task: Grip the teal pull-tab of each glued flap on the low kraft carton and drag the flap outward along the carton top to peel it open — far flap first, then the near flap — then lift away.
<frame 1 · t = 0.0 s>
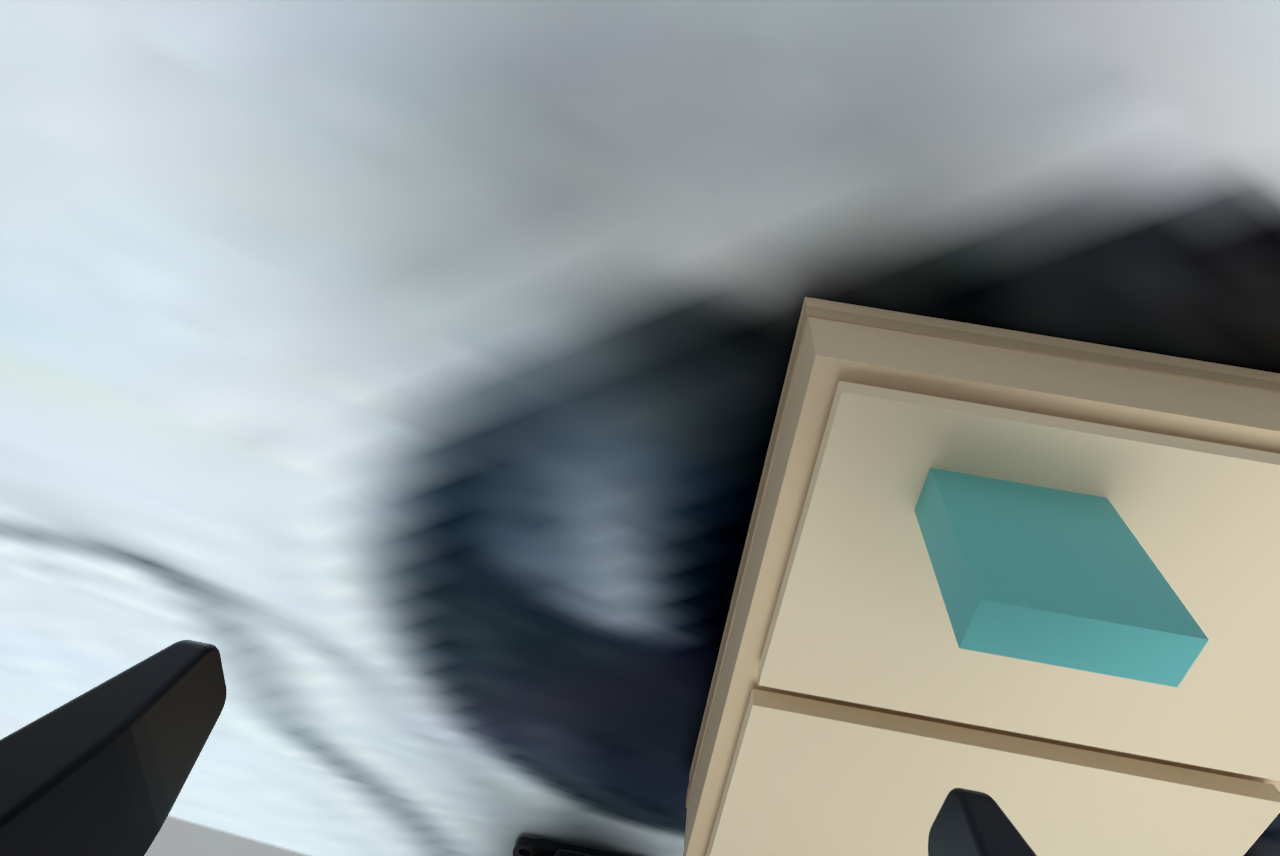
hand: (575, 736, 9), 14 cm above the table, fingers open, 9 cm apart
carton: (976, 621, 26), on the table
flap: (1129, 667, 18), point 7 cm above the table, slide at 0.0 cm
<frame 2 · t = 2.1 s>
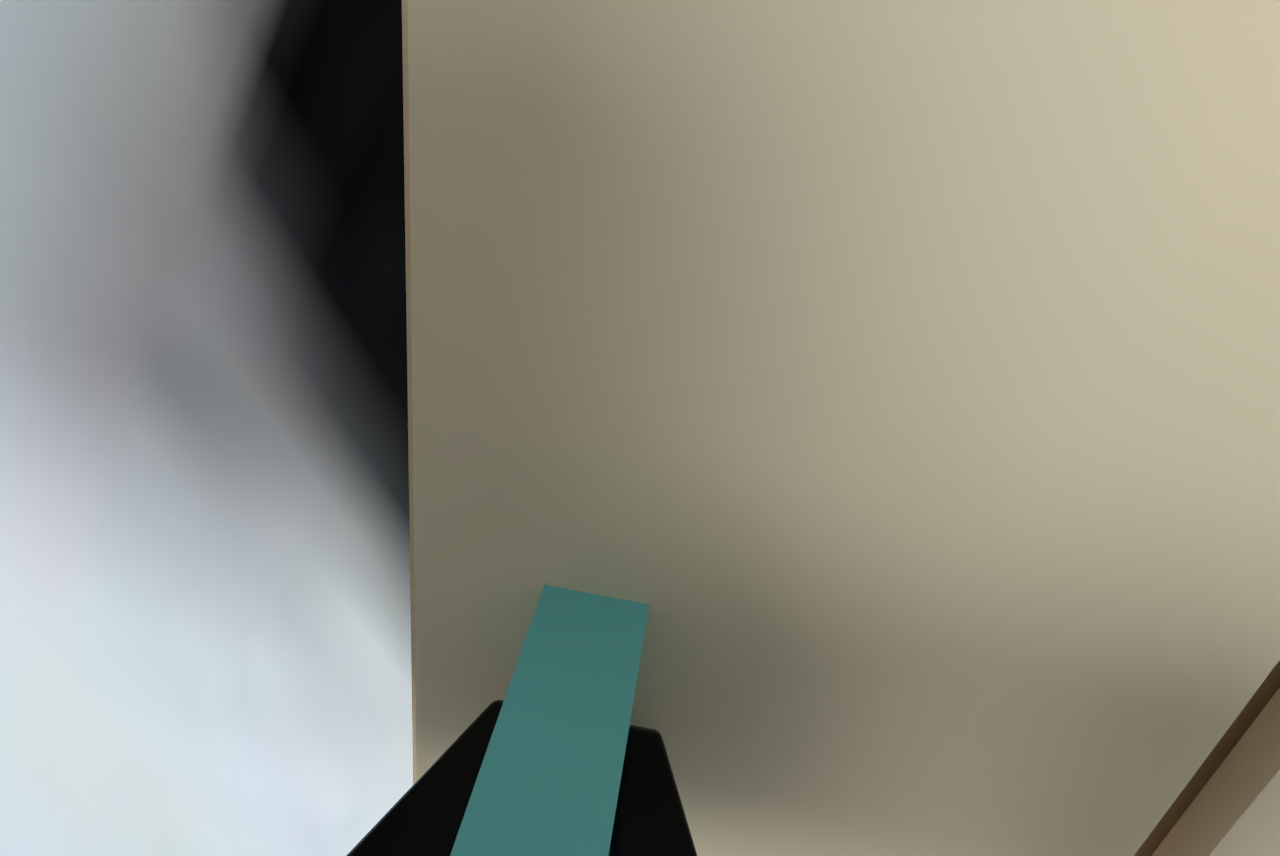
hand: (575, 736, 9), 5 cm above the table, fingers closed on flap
carton: (1126, 425, 12), on the table
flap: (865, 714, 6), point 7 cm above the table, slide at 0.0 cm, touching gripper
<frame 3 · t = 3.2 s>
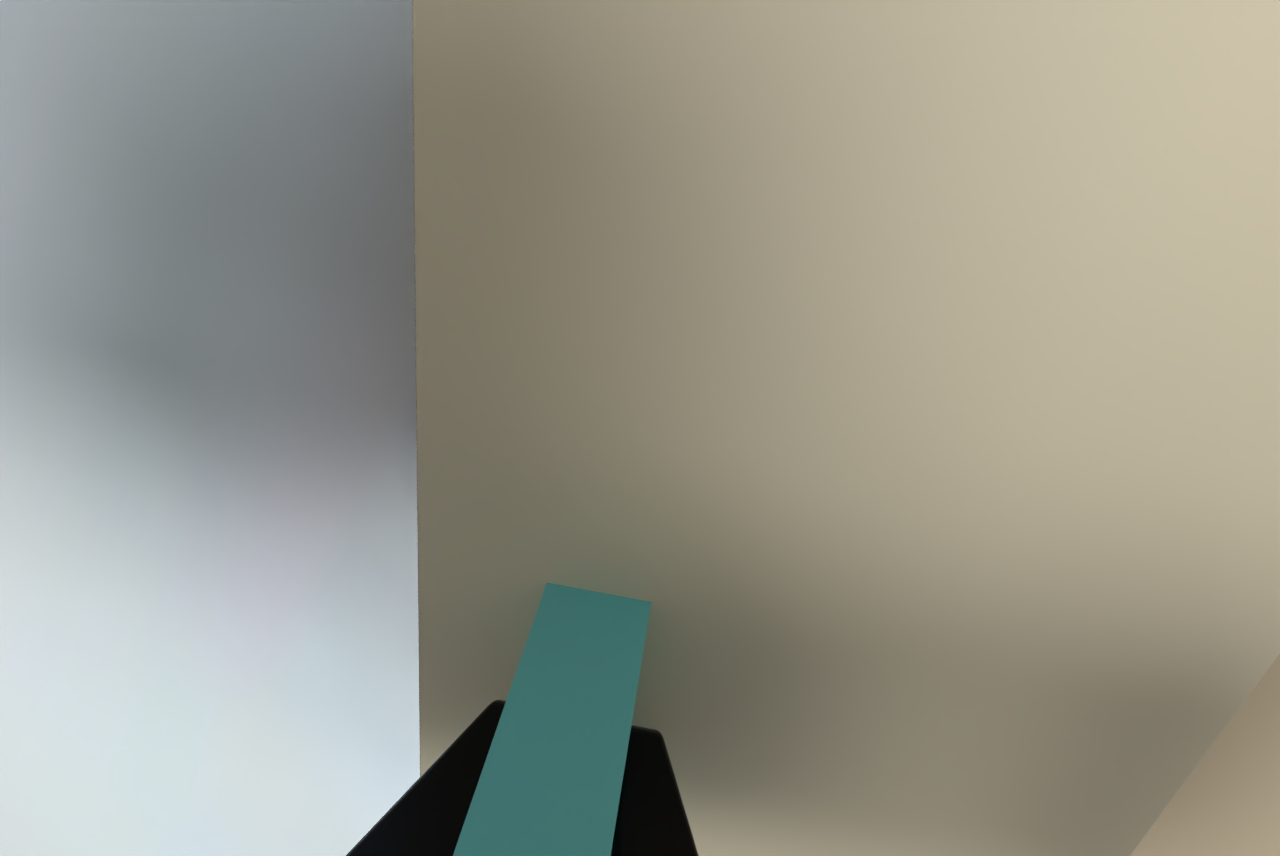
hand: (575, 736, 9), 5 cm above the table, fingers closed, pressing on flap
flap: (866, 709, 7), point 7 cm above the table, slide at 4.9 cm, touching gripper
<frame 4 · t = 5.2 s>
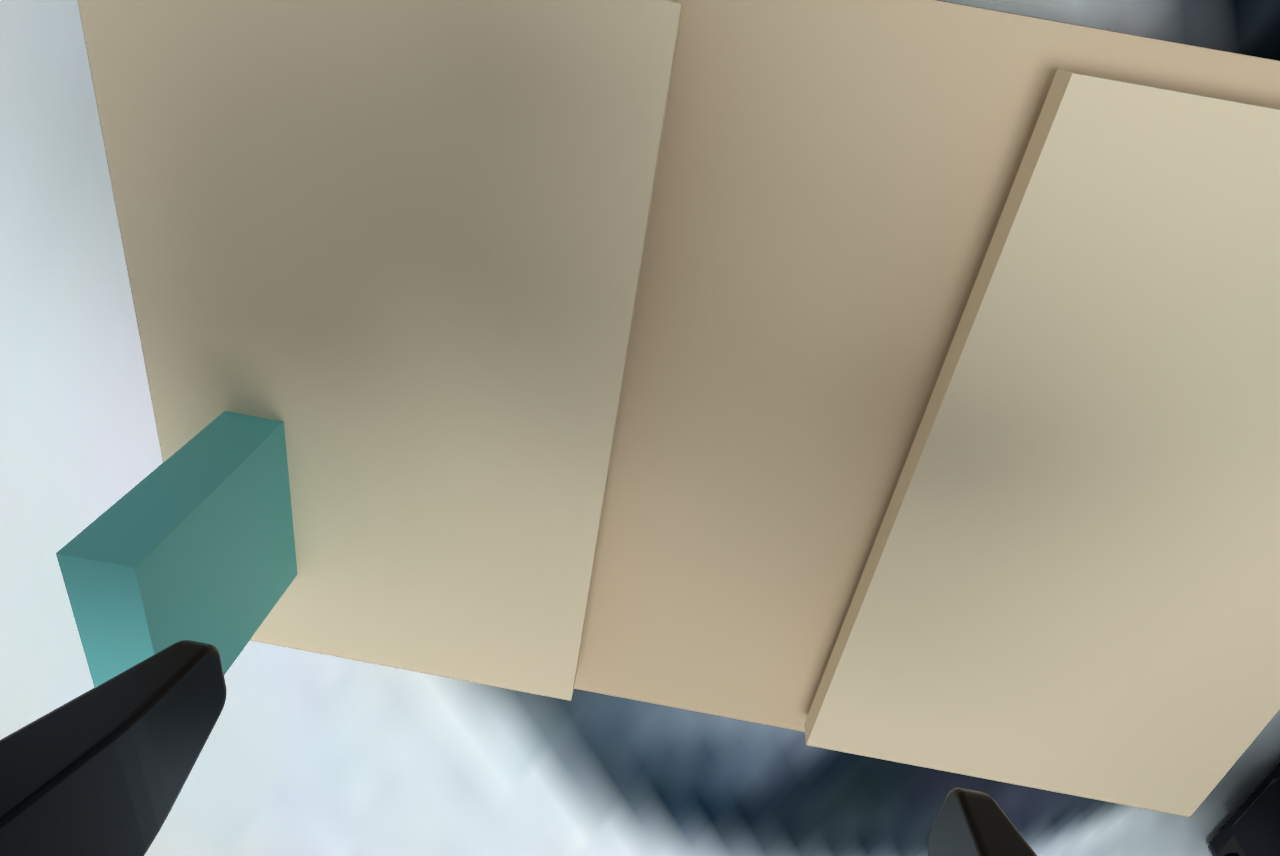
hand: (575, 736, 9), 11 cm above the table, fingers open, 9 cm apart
carton: (851, 376, 19), on the table
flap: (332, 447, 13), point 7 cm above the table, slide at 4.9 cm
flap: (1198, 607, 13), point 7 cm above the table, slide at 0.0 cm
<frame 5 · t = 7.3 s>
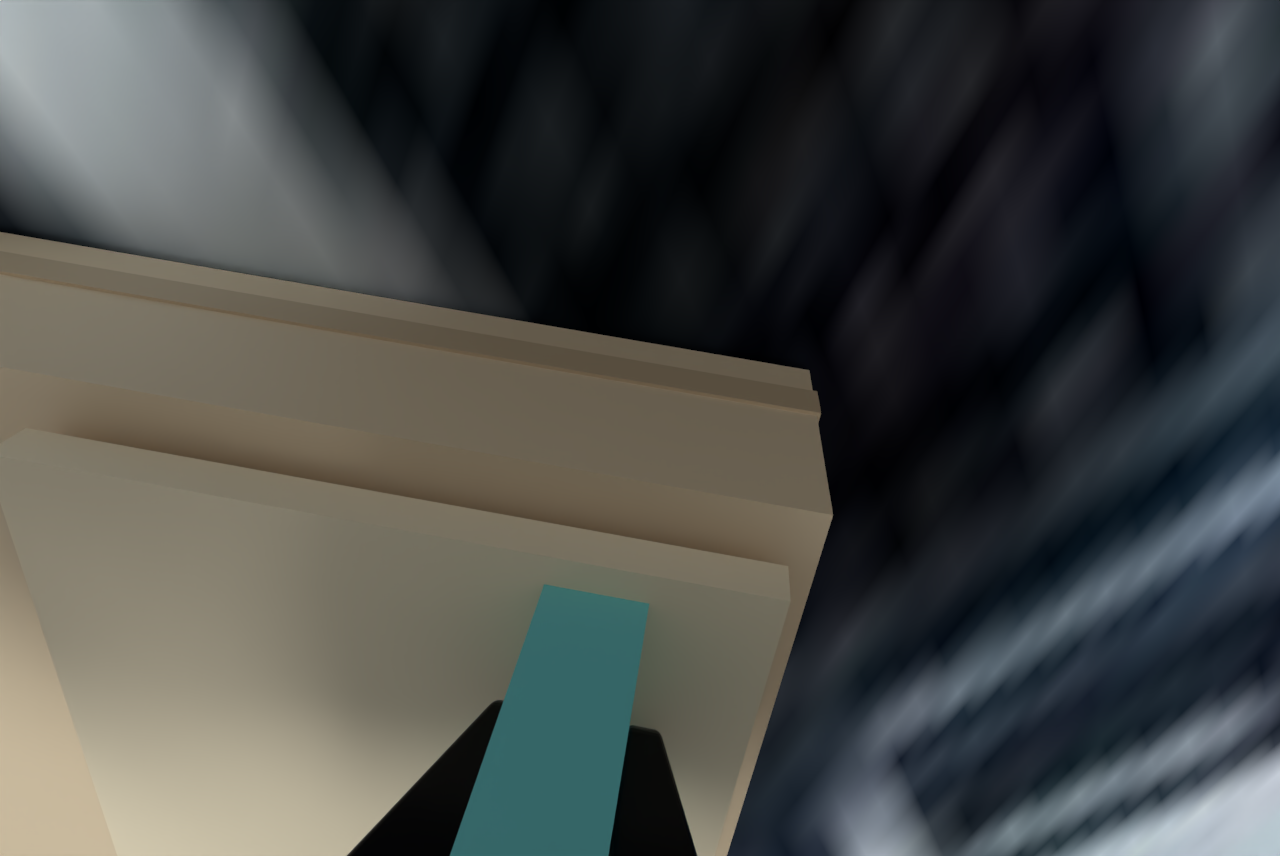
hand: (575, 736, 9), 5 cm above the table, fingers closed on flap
carton: (256, 626, 17), on the table
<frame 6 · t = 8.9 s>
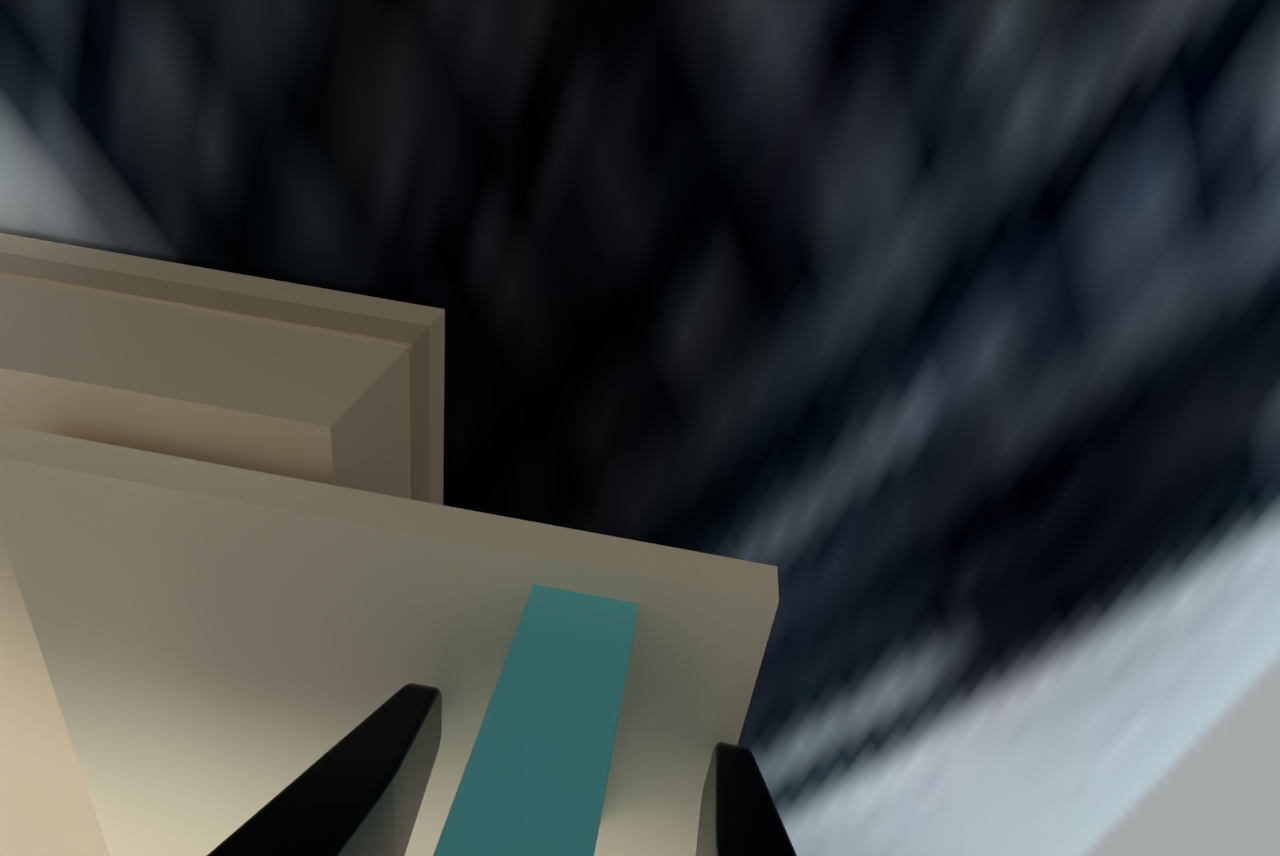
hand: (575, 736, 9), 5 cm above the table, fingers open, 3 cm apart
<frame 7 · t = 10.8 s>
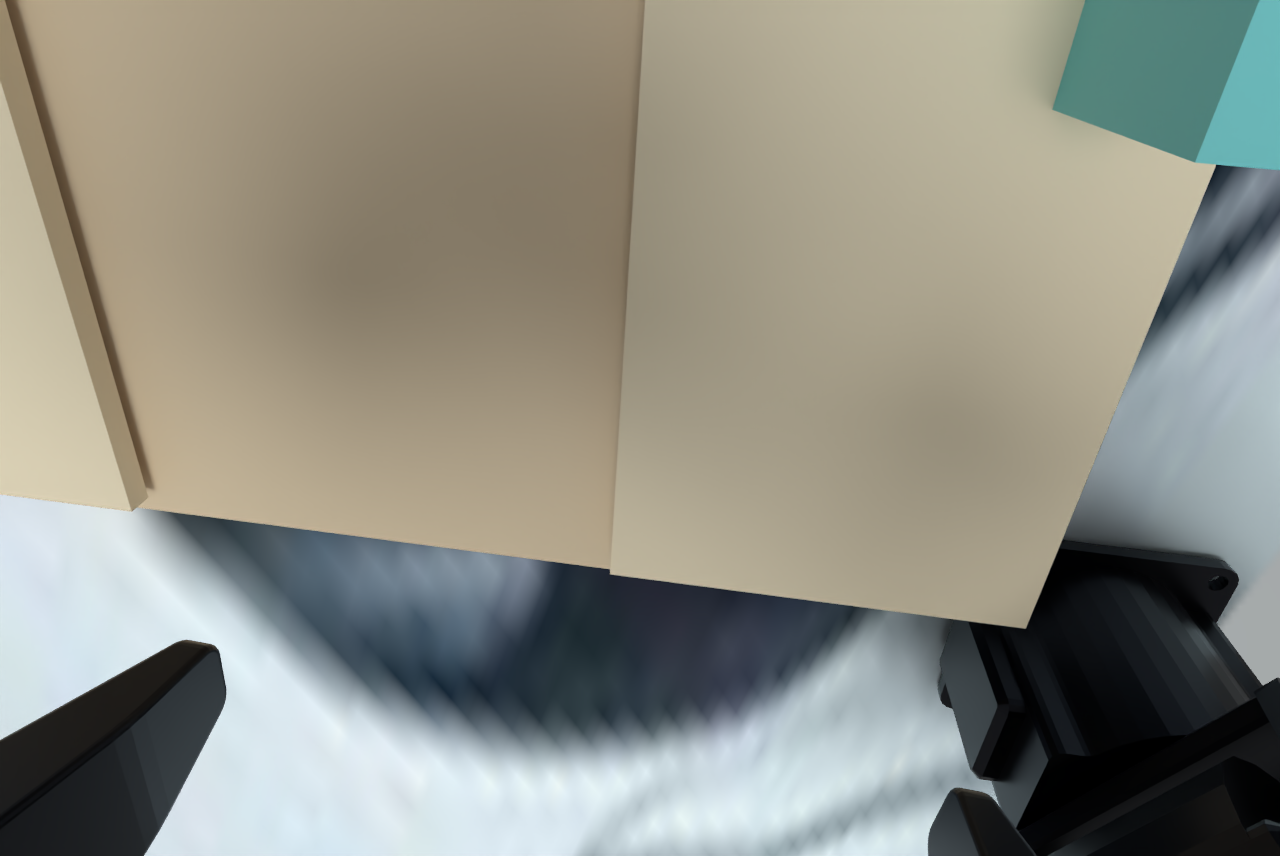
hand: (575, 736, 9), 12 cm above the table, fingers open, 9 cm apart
carton: (400, 171, 19), on the table
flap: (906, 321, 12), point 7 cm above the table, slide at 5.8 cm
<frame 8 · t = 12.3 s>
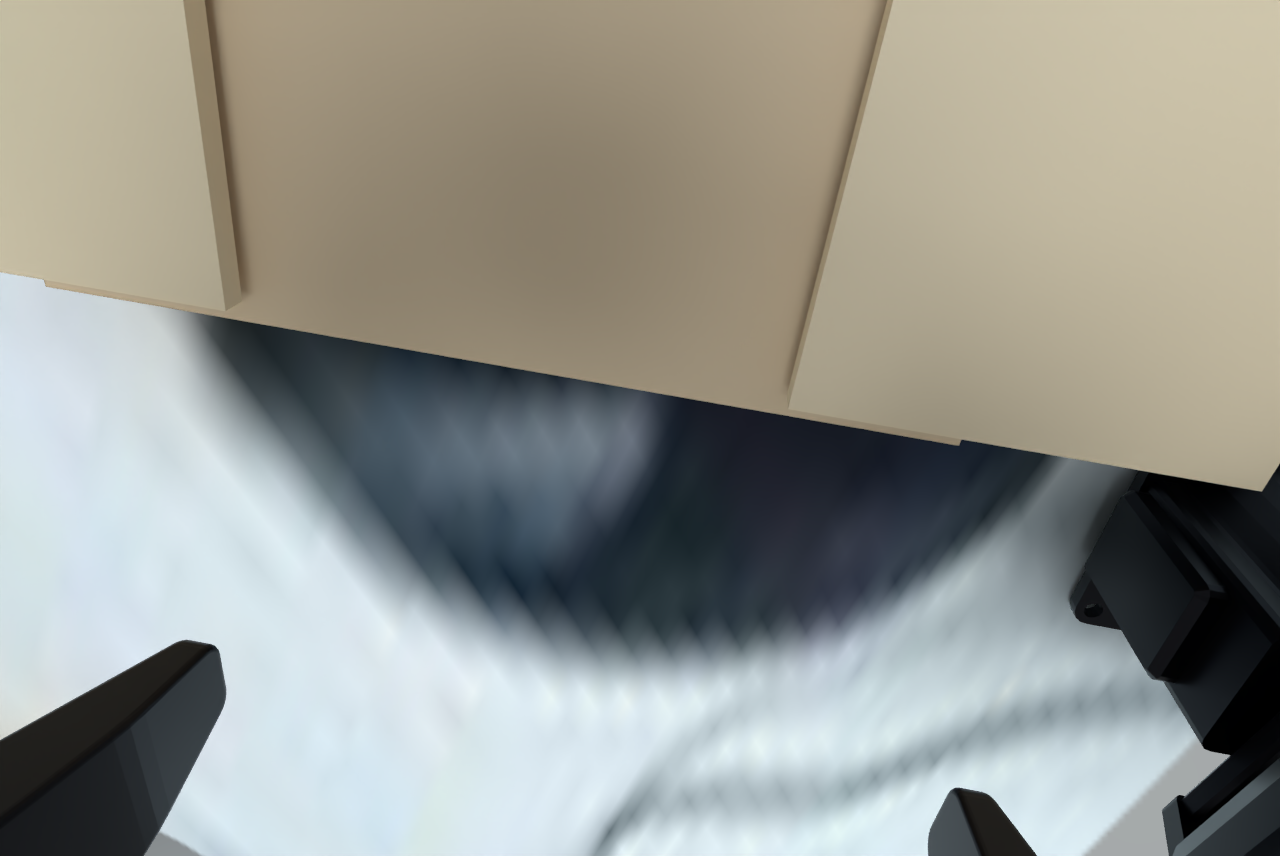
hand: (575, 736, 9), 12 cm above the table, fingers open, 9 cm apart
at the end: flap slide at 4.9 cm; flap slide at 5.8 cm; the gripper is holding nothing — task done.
